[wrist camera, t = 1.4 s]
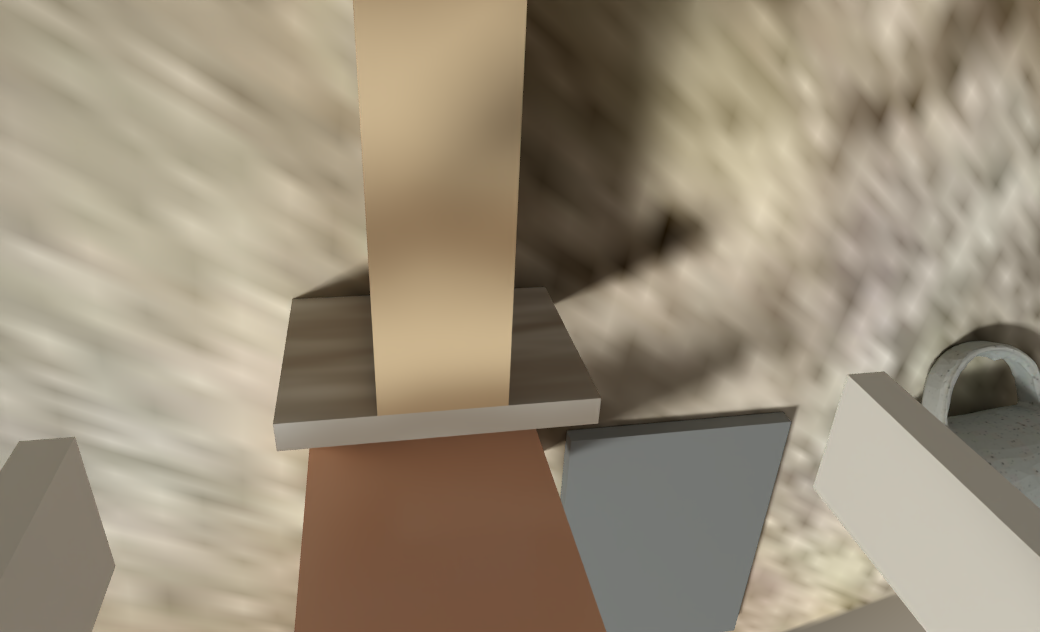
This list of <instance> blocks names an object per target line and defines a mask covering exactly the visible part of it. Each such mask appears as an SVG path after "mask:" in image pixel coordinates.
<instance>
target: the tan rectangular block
mask: <svg viewBox="0 0 1040 632" xmlns="http://www.w3.org/2000/svg"><path fill="white" fill-rule="evenodd" d="M353 9H354V26H355V43H356V60H357V77H358V94H359V111H360V128H361V145H362V162H363V179H364V196H365V213H366V230H367V247H368V263H369V280H370V295H365V296H344V297H323V298H302V299H292V305H291V312H290V318H289V325H288V331H287V337H286V344H285V350H284V357H283V363H282V370H281V376H280V383H279V389H278V396H277V402H276V408H275V415H274V421H273V427H274V434H275V441H276V448H277V451H285V450H296V449H308V448H320V447H331V446H343V445H354V444H366V443H378V442H389V441H401V440H413V439H424V438H436V437H447V436H459V435H471V434H482V433H494V432H505V431H517V430H529V429H540V428H552V427H564V426H575V425H587V424H598V420H599V412H600V404H601V397H600V395H599V393H598V391H597V389H596V387H595V385H594V383H593V381H592V379H591V377H590V375H589V373H588V371H587V369H586V367H585V365H584V363H583V361H582V359H581V357H580V355H579V353H578V351H577V349H576V347H575V345H574V343H573V341H572V339H571V337H570V335H569V333H568V331H567V329H566V327H565V325H564V323H563V321H562V319H561V317H560V316H559V314H558V312H557V310H556V308H555V306H554V304H553V302H552V300H551V298H550V296H549V294H548V292H547V290H546V288H545V287H532V288H514V276H515V254H516V232H517V210H518V189H519V167H520V145H521V123H522V102H523V80H524V58H525V37H526V15H527V0H353Z"/></svg>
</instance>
